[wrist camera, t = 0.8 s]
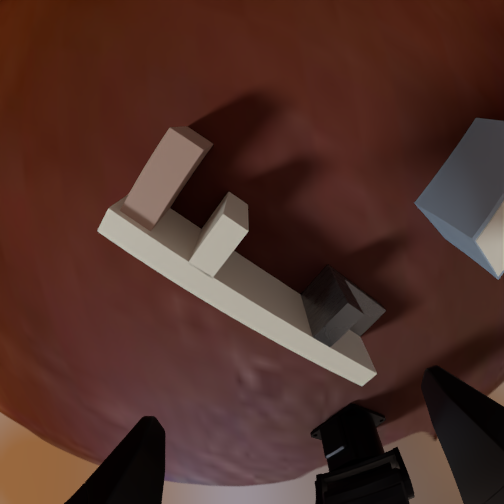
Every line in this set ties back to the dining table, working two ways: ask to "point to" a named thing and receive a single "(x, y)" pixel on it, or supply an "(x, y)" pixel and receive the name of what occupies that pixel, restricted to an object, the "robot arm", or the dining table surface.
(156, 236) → the white notched bar
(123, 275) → the dining table surface
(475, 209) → the boxed book
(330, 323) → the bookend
